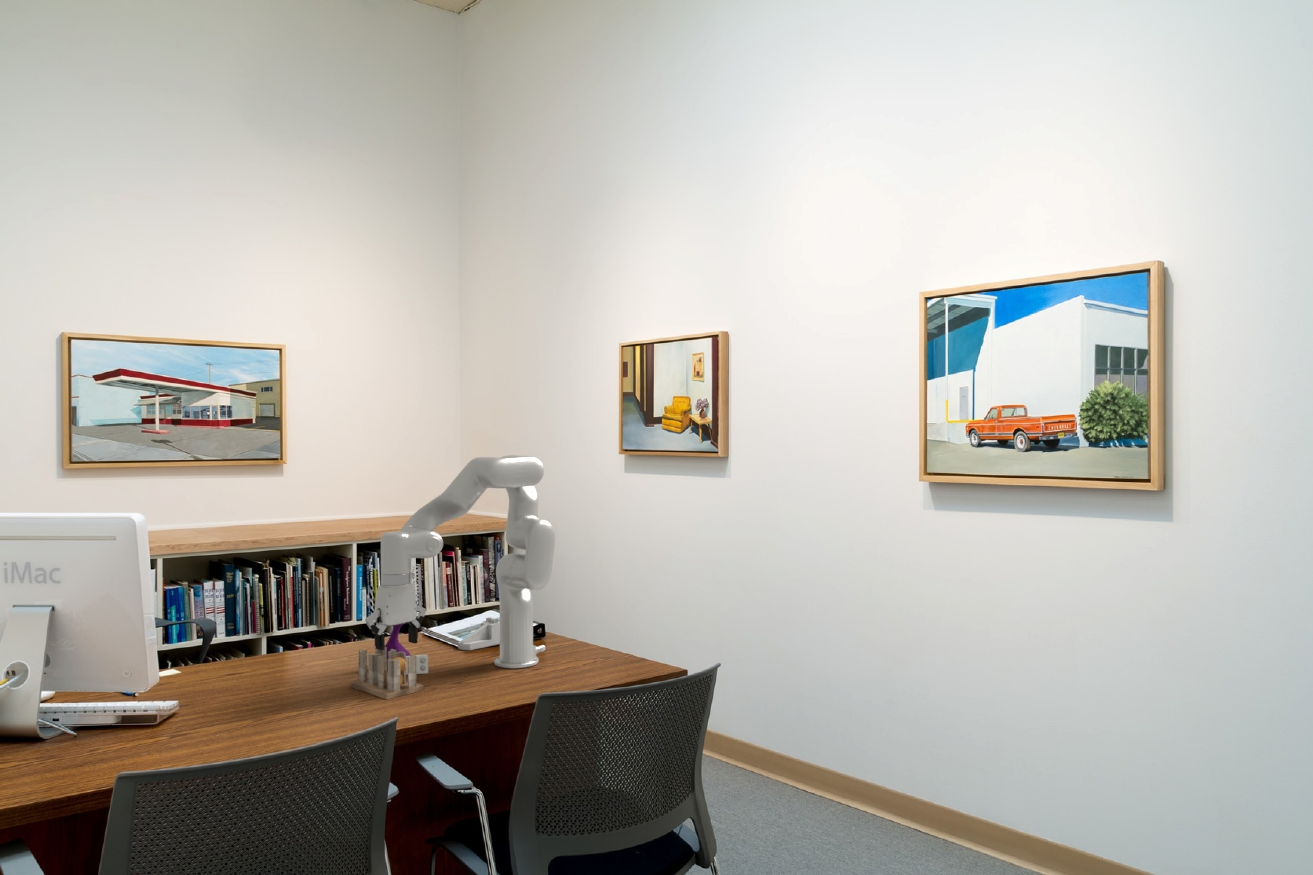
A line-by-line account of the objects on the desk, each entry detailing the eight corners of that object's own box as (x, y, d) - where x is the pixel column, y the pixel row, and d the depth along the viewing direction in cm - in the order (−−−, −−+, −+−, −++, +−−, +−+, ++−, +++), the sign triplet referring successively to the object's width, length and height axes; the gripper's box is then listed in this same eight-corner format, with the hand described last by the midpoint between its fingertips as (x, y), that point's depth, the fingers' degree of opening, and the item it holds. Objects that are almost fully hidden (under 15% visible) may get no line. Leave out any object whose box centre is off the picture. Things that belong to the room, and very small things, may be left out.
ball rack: (387, 678, 246) (387, 644, 246) (424, 689, 235) (423, 654, 235) (350, 686, 238) (350, 651, 237) (386, 699, 226) (386, 662, 226)
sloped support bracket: (455, 648, 280) (455, 622, 280) (502, 638, 293) (502, 614, 293) (466, 651, 276) (465, 625, 276) (513, 641, 289) (513, 616, 289)
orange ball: (394, 678, 233) (400, 672, 237) (405, 668, 232) (411, 663, 236) (384, 665, 233) (390, 660, 237) (395, 656, 232) (401, 651, 236)
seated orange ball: (398, 679, 236) (395, 666, 234) (407, 685, 233) (405, 672, 232) (385, 687, 233) (382, 674, 231) (394, 693, 230) (391, 680, 229)
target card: (398, 674, 249) (398, 656, 249) (428, 672, 251) (428, 654, 251) (398, 675, 249) (398, 657, 249) (428, 673, 251) (428, 655, 251)
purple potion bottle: (410, 664, 260) (410, 602, 260) (400, 671, 253) (400, 607, 252) (385, 664, 261) (385, 601, 261) (375, 671, 253) (374, 606, 253)
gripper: (416, 574, 242) (417, 637, 242) (358, 582, 229) (358, 649, 229) (433, 577, 237) (433, 642, 237) (374, 585, 224) (374, 654, 224)
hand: (396, 645), depth 233 cm, fingers open, 9 cm apart
